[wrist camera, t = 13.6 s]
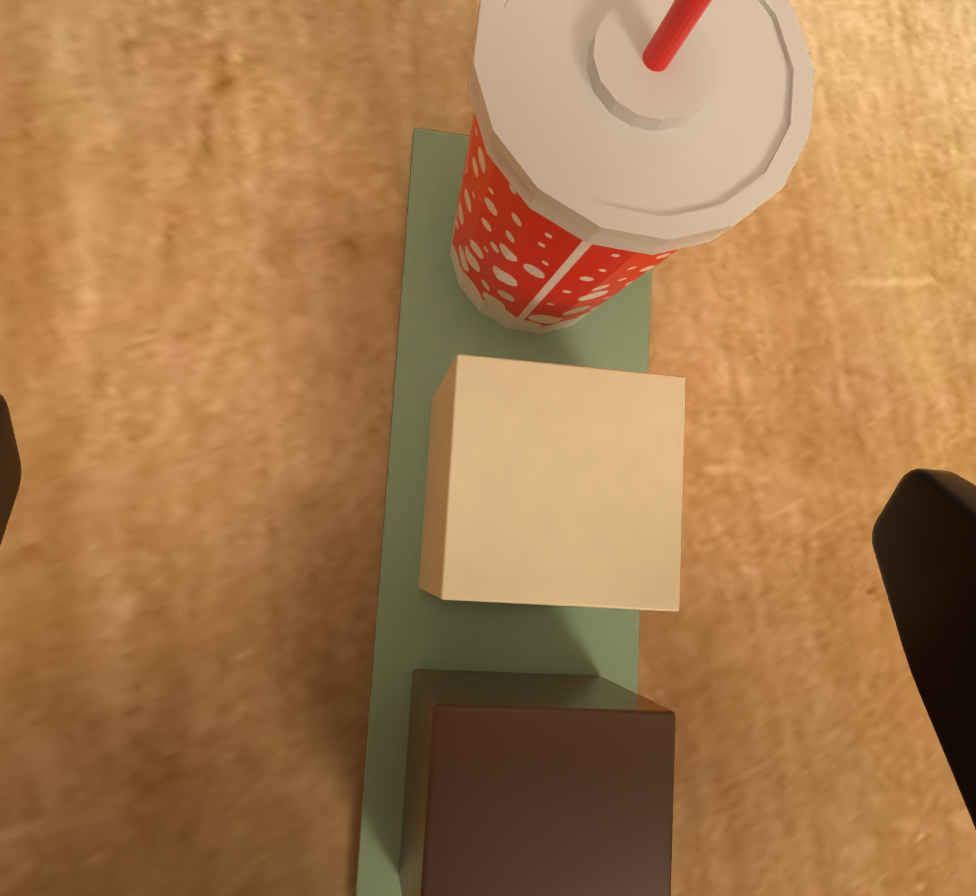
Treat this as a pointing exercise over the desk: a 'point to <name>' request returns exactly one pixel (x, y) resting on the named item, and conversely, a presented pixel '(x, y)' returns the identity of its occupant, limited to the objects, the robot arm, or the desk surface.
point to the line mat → (401, 603)
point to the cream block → (554, 486)
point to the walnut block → (535, 787)
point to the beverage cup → (618, 143)
